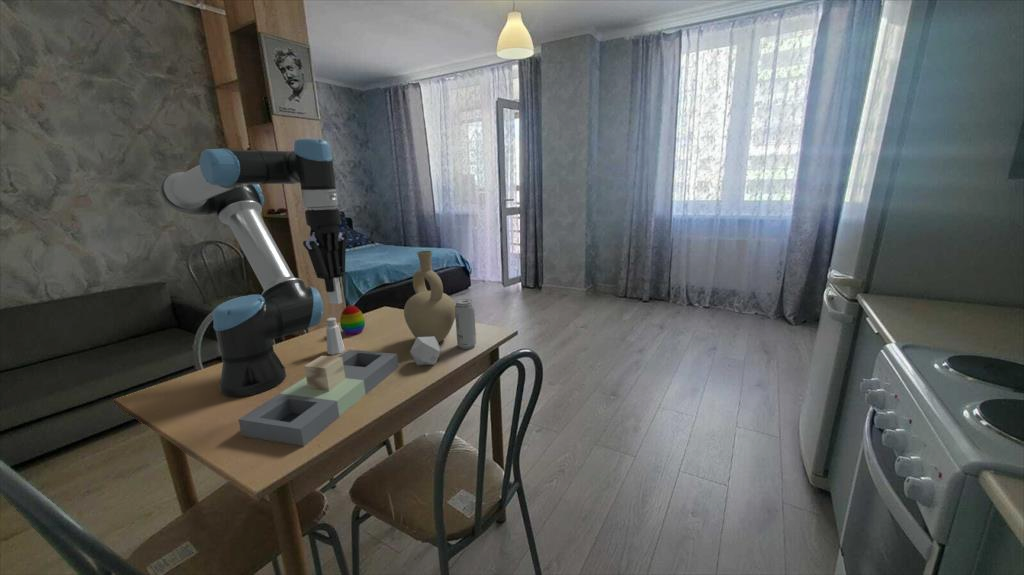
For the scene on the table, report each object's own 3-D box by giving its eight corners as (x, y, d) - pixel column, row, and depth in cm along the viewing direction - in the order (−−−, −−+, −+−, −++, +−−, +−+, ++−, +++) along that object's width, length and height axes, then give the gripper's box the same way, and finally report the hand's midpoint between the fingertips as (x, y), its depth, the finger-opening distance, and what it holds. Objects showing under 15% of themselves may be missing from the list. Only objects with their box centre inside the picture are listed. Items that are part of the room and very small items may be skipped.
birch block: (308, 388, 98) (304, 365, 97) (325, 377, 104) (321, 355, 102) (329, 391, 96) (325, 368, 95) (345, 379, 102) (342, 357, 101)
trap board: (242, 435, 87) (238, 419, 86) (351, 361, 122) (349, 349, 120) (303, 446, 83) (300, 429, 82) (398, 366, 117) (397, 353, 116)
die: (427, 374, 113) (444, 344, 114) (401, 359, 114) (418, 329, 115) (433, 371, 122) (449, 343, 122) (408, 357, 122) (424, 329, 123)
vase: (398, 341, 136) (388, 252, 129) (440, 328, 147) (433, 246, 139) (423, 355, 124) (414, 259, 117) (467, 340, 135) (462, 251, 127)
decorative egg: (370, 329, 148) (367, 303, 145) (354, 337, 141) (350, 310, 138) (353, 327, 151) (349, 301, 149) (336, 335, 144) (332, 308, 141)
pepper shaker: (340, 354, 127) (335, 321, 124) (323, 355, 127) (318, 321, 124) (348, 347, 132) (343, 315, 129) (331, 347, 132) (326, 316, 130)
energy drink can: (455, 344, 132) (452, 300, 128) (473, 341, 134) (470, 297, 130) (460, 351, 127) (456, 305, 123) (478, 347, 129) (476, 302, 125)
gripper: (315, 210, 90) (330, 312, 96) (352, 206, 102) (364, 296, 108) (287, 210, 92) (304, 310, 98) (327, 206, 104) (340, 295, 110)
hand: (335, 302), depth 103 cm, fingers closed
